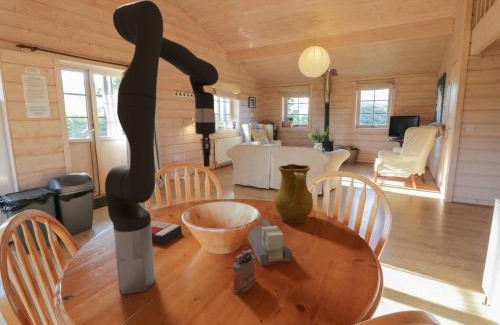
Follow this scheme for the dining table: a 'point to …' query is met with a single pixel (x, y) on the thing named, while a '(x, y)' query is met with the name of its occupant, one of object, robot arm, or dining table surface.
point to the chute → (259, 251)
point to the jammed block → (272, 242)
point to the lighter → (244, 272)
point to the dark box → (164, 232)
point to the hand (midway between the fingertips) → (206, 166)
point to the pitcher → (293, 194)
